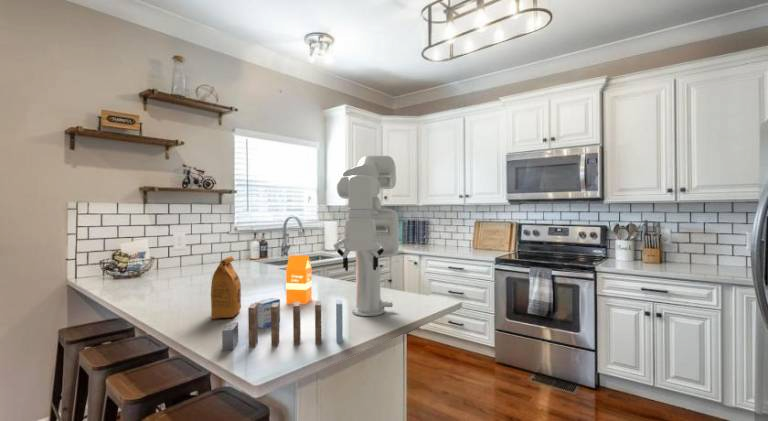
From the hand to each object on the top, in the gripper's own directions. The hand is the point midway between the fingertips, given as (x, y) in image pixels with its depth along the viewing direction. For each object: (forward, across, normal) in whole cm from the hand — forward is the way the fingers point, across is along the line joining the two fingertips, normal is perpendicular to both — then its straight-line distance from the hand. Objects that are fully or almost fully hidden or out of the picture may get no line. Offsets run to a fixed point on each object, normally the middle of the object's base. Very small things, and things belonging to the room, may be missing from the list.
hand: (360, 269), depth 122 cm
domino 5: (+22, +7, 0) cm, 23 cm away
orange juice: (+22, +23, -50) cm, 59 cm away
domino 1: (+22, +33, 0) cm, 39 cm away
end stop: (+22, +39, 0) cm, 45 cm away
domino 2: (+22, +26, 0) cm, 34 cm away
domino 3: (+22, +20, 0) cm, 30 cm away
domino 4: (+22, +13, 0) cm, 26 cm away
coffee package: (+22, +48, -32) cm, 62 cm away
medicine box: (+22, +31, -19) cm, 43 cm away
